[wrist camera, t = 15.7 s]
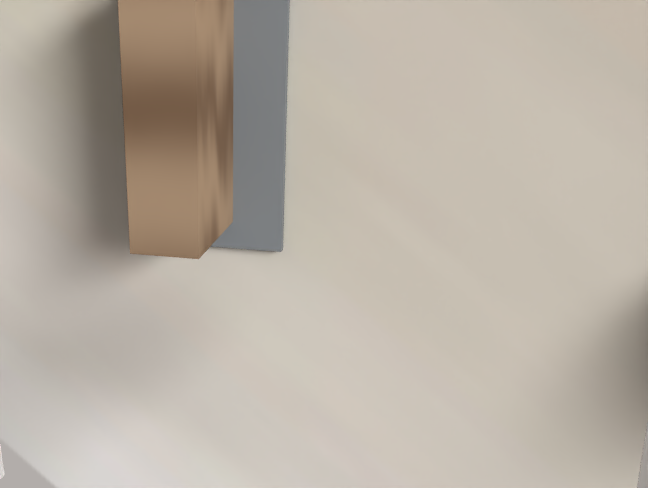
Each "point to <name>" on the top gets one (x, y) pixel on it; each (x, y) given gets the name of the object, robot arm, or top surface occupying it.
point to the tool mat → (259, 125)
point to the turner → (177, 123)
